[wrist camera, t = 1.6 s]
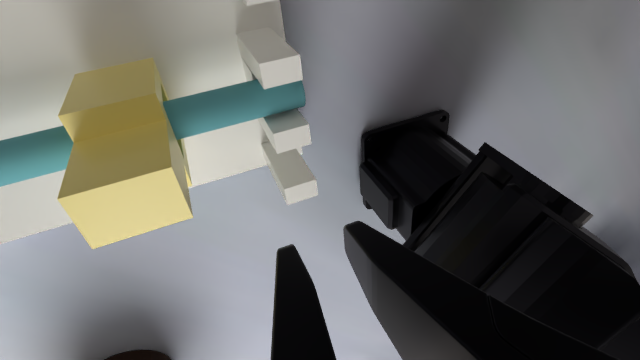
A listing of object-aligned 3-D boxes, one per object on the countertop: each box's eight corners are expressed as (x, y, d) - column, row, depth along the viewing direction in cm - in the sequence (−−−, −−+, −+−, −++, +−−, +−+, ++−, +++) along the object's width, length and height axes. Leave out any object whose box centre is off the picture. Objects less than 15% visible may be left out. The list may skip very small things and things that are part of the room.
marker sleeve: (153, 57, 15) (159, 137, 10) (183, 139, 18) (202, 238, 12) (74, 73, 15) (36, 169, 9) (118, 157, 17) (107, 270, 12)
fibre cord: (273, 30, 18) (310, 62, 14) (285, 99, 20) (319, 144, 16) (-360, 163, 12) (-578, 272, 9) (-249, 237, 15) (-384, 350, 11)
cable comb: (264, -66, 16) (306, -57, 12) (297, 146, 23) (331, 198, 19) (-493, 45, 11) (-887, 129, 7) (-160, 278, 18) (-253, 392, 13)
